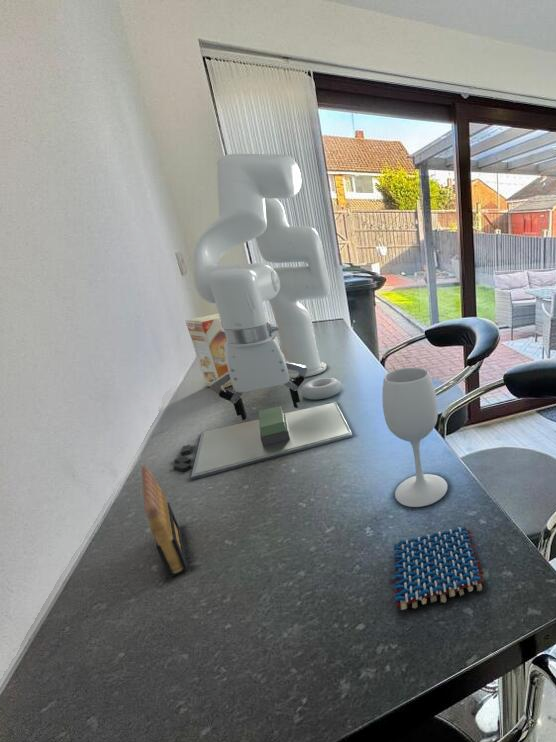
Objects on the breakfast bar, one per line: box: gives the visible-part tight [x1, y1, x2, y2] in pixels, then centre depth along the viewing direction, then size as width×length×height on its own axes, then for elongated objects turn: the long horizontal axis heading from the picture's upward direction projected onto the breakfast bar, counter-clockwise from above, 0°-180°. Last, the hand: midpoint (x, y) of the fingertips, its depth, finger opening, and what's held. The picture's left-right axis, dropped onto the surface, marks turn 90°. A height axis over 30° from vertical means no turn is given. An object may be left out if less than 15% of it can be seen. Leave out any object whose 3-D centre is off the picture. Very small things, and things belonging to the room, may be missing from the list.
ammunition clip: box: [141, 465, 189, 578], centre depth 53 cm, size 11×2×12 cm, turn 42°
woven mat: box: [393, 526, 485, 611], centre depth 51 cm, size 10×11×2 cm
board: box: [190, 401, 354, 481], centre depth 86 cm, size 20×28×1 cm
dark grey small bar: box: [180, 444, 193, 457], centre depth 81 cm, size 3×1×1 cm, turn 31°
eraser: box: [258, 405, 290, 446], centre depth 85 cm, size 10×5×4 cm, turn 31°
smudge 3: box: [173, 462, 193, 473], centre depth 75 cm, size 3×1×1 cm, turn 70°
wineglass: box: [381, 366, 448, 508], centre depth 63 cm, size 9×9×21 cm
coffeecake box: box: [185, 313, 232, 389], centre depth 117 cm, size 15×7×20 cm, turn 160°
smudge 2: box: [173, 455, 192, 464], centre depth 77 cm, size 3×1×1 cm, turn 66°
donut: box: [300, 377, 342, 401], centre depth 107 cm, size 10×4×10 cm
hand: (270, 411), depth 85 cm, fingers open, 9 cm apart
